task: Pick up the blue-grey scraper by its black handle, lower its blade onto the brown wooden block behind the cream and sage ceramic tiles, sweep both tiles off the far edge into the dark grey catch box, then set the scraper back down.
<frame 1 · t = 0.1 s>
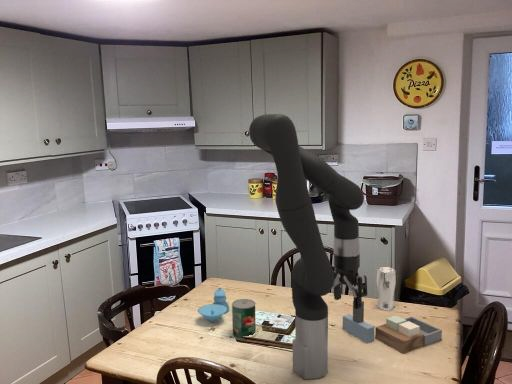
hand: (347, 303, 141), 17 cm above the table, tool pointing down, fingers open, 8 cm apart
catch box: (417, 335, 157), on the table
scraper: (357, 335, 158), on the table
tile b: (396, 326, 155), point 4 cm above the table, touching brown wooden block
beer glass: (385, 307, 181), on the table
canned tomato: (244, 334, 160), on the table
tile a: (409, 332, 151), point 4 cm above the table, touching brown wooden block
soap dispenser: (215, 317, 175), on the table
brown wooden block: (398, 342, 153), on the table
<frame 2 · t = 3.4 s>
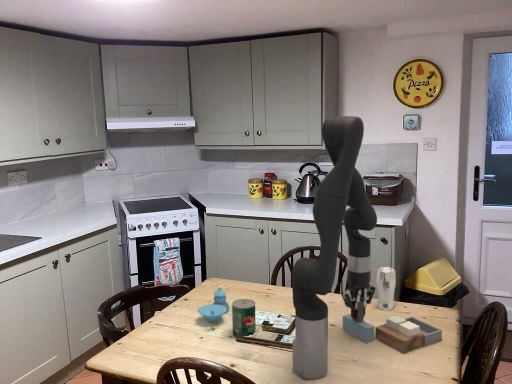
hand: (358, 317, 157), 6 cm above the table, tool pointing down, fingers closed on scraper, 2 cm apart
scraper: (357, 335, 158), on the table, touching gripper
everything else where it was.
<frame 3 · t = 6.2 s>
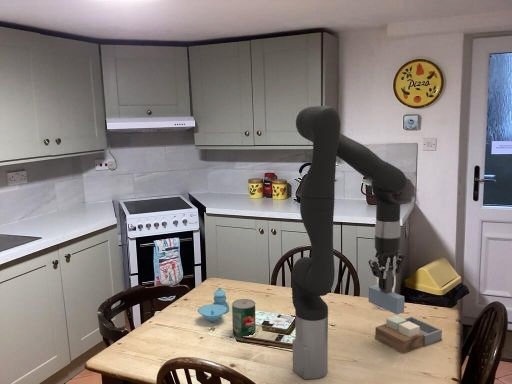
hand: (386, 288, 147), 20 cm above the table, tool pointing down, fingers closed on scraper, 2 cm apart
scraper: (385, 306, 147), point 13 cm above the table, touching gripper
everything else where it was.
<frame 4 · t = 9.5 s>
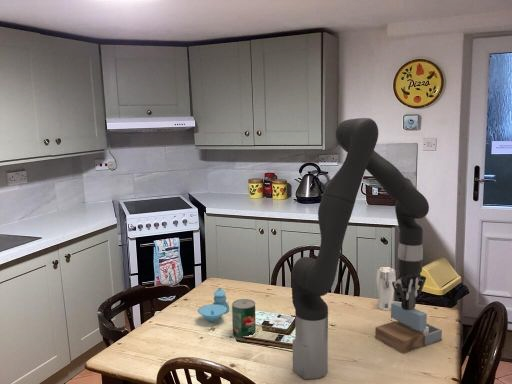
hand: (408, 307, 153), 11 cm above the table, tool pointing down, fingers closed on scraper, 2 cm apart
scraper: (407, 322, 154), point 6 cm above the table, touching gripper
tile b: (404, 326, 157), point 3 cm above the table, tilted 90°, touching catch box
tile a: (417, 333, 153), point 3 cm above the table, tilted 90°, touching catch box
everything else where it was.
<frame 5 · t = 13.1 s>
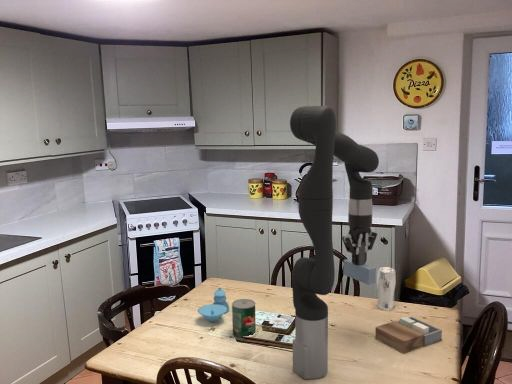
hand: (359, 263, 154), 25 cm above the table, tool pointing down, fingers closed on scraper, 2 cm apart
scraper: (358, 278, 155), point 20 cm above the table, touching gripper
everything else where it was.
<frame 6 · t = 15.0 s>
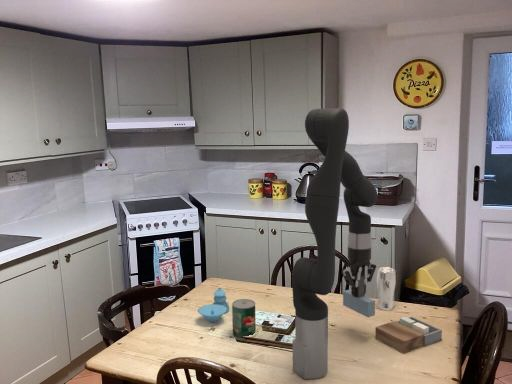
hand: (358, 295, 156), 14 cm above the table, tool pointing down, fingers closed on scraper, 2 cm apart
scraper: (358, 310, 157), point 9 cm above the table, touching gripper
everything else where it was.
when the fingers open (7 cm above the table, at t = 16.6 s): scraper drops 2 cm, on the table.
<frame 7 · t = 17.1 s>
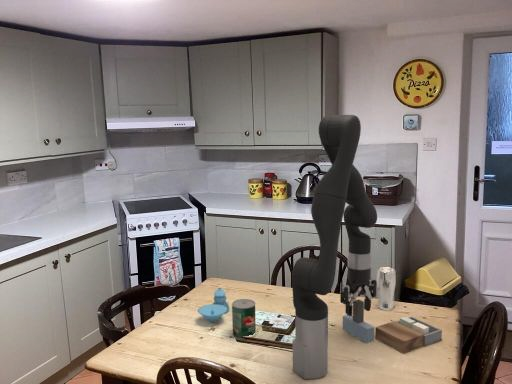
hand: (358, 312, 157), 8 cm above the table, tool pointing down, fingers open, 7 cm apart
scraper: (357, 335, 158), on the table
everything else where it was.
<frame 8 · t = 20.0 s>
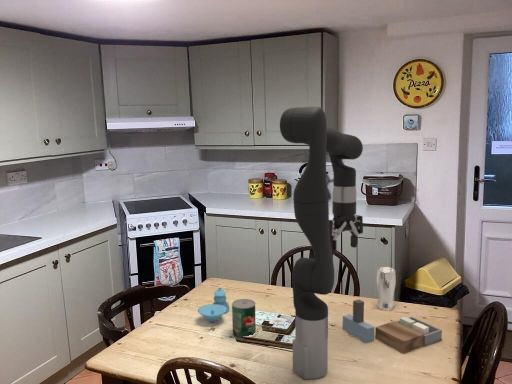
hand: (343, 248, 153), 30 cm above the table, tool pointing down, fingers open, 8 cm apart
nothing on the table moved.
at the end: tile a inside the target area on the catch box (4.2 cm from its centre), point 2.8 cm above the catch box's base; tile b inside the target area on the catch box (4.2 cm from its centre), point 2.8 cm above the catch box's base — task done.
